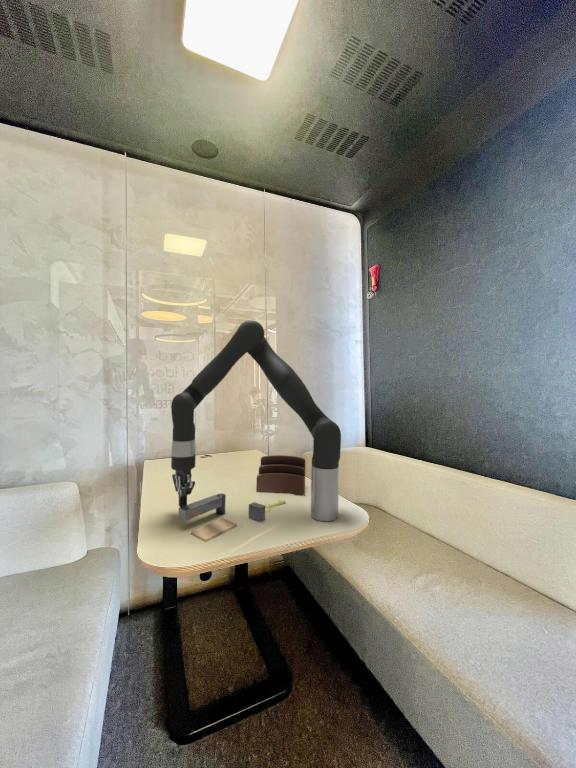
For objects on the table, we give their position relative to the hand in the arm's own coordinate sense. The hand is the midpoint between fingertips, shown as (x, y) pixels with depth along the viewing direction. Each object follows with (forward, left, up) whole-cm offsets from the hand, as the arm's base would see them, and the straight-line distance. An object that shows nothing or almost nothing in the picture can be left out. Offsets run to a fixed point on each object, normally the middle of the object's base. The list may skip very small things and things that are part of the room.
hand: (182, 506), depth 98 cm
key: (-25, +16, -5) cm, 30 cm away
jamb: (-11, +12, -4) cm, 17 cm away
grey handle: (-4, +6, -4) cm, 8 cm away
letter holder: (-42, +8, -5) cm, 43 cm away
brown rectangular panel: (-1, +14, -4) cm, 15 cm away
